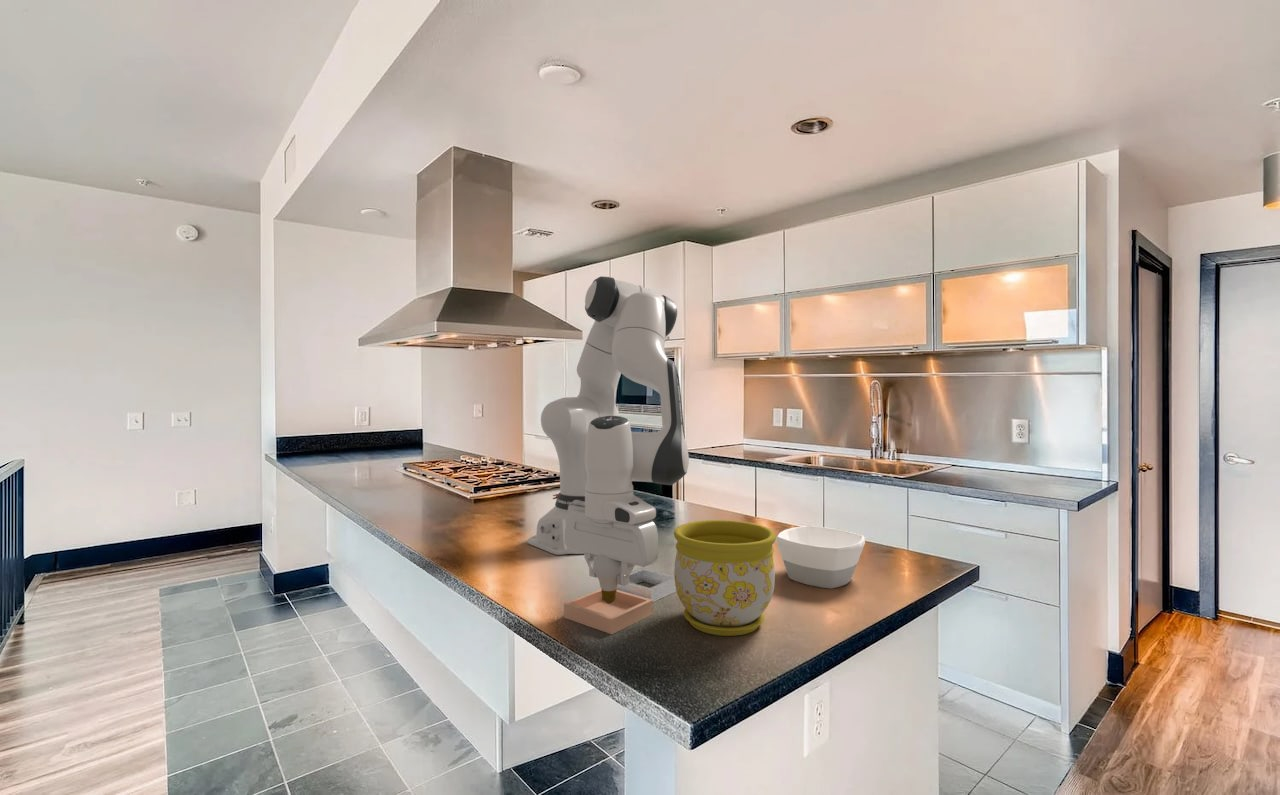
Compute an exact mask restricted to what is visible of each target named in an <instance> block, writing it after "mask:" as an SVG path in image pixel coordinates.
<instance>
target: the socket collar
mask: <svg viewBox="0 0 1280 795" xmlns="http://www.w3.org/2000/svg"><path fill="white" fill-rule="evenodd" d="M642 582H644V583H649V584H653V586H652V587H647V586H643V585H639V584H640V583H642ZM617 590H620V591H623V592H627V593H630V594H634V595H637V596H641V597H644V598H648V599H651V600H653V603H655V602H657V601H658V600H661V599H663V598H665V597H668V596H670V595H672V594H674V593H677V591H676V586H675V578H674V575H672V574H670V573H669V574H668V573H665V572H661V571H656V570H652V569H650V568H649V569H648V568H645V567H640V568H638V569H635V570H632V571H631V573H630V574H629V584H628V585H625V586H623V585H619V584H618V587H617Z"/></svg>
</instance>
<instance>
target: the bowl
mask: <svg viewBox="0 0 1280 795" xmlns="http://www.w3.org/2000/svg"><path fill="white" fill-rule="evenodd" d="M775 542H776V544H777V546H778V550H779V554H780V556H781V559H782V562H783V564H784V566H785V570H786V573H787V576H788V578H789V579H790V580H792V581H795V582H797V583H799V584H802V585H803V584H804V585H806V586H812V587H817V588H821V589H822V588H823V589H828V590H831V589H836V588H841V587H843V586H845V585H848V584H849V583H850V582H851V581H852V578H853V575H854V573H855V570H856V567H857V564H858V562H859V560H860V558H861V555H862V552H863V550H864V547H865V543H866V538H865V535H862V534H860V533H859V534H858V533H855V532H851V531H847V530H843V529H838V528H832V527H824V526H813V525H804V526H803V525H801V526H796V527H795V526H794V527H791V528H786V529H784V530H782V531H780V532H779V533H778V535H777V536H776V540H775Z"/></svg>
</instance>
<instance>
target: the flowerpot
mask: <svg viewBox="0 0 1280 795" xmlns="http://www.w3.org/2000/svg"><path fill="white" fill-rule="evenodd" d="M673 536H674V539H675V540H676V544H675V549H676V555H675V561H674V569H673V571H674V572H673V574H674V575H673V576H674V578H675V586H676V593H677V596H678V598H679V601H680V602H681V605H682V606H683V607H684V609H683V610H684V611H683V617H684V618H685V619H686V620H687V621H688V622H689V624H690V625H691V626H692V627H693V628H694V629H696V630H698V631H701V632H703V633H706V634H708V635H714V636H723V637H732V636H733V637H735V636H742V635H746V634H747V635H748V634H750V633H752V632H754V631H755V630H757V629H758V627H759V626H760V625H761V624H762V623H764V621H765V615H764V612H765V610H766V609H767V607H768V606H769V605H770V603H771V600H772V598H773V595H774V594H773V593H774V590H775V582H776V581H775V579H776V572H775V571H776V570H775V563H774V556H773V555H774V552H775V549H774V547H773V545H774V544H775V542H776V538H777V536H776V533H775V531H773V530H772V529H771V528H769V527H766V526H765V525H761V524H757V523H752V522H747V521H746V522H745V521H739V520H727V519H726V520H724V519H723V520H722V519H711V520H710V519H708V520H697V521H690V522H686V523H683V524H681V525H678V526H677V527H676V528H675V529H674V530H673Z"/></svg>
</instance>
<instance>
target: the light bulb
mask: <svg viewBox="0 0 1280 795" xmlns="http://www.w3.org/2000/svg"><path fill="white" fill-rule="evenodd" d="M623 569H624V567H621V561H618V560H614V559H610V558H608V557H606V556H605V555H601V554H600V555H596V557H595V559H594V561H593V570H594V573H595V575H596V576H597V578H596V579H598V582H599V587H600V589H602V600H604V601H605V602H606V603H608V604H610V603H612V602H613V601H614V600H616V591H617V587H618V584H617V575H619V574H621V573H622V571H623Z"/></svg>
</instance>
